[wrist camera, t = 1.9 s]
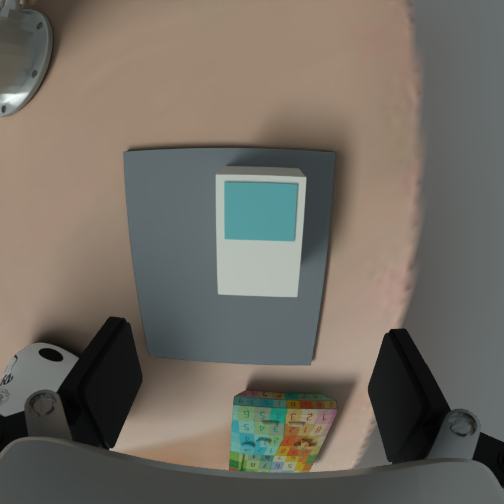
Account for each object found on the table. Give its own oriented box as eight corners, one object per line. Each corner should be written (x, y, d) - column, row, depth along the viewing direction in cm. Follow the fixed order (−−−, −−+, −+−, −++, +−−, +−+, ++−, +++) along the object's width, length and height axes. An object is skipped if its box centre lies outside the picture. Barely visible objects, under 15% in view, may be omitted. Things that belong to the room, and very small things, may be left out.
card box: (224, 166, 25) (215, 174, 20) (298, 168, 25) (306, 177, 20) (225, 267, 29) (217, 295, 24) (292, 269, 28) (297, 298, 24)
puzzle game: (338, 414, 31) (303, 487, 38) (333, 386, 35) (302, 464, 42) (232, 410, 31) (227, 484, 38) (235, 381, 35) (230, 461, 43)
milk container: (10, 325, 34) (-60, 403, 18) (105, 338, 34) (33, 456, 17) (52, 407, 41) (9, 483, 24) (140, 427, 40) (106, 525, 23)
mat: (126, 151, 25) (123, 151, 25) (334, 152, 25) (335, 152, 24) (150, 352, 34) (149, 355, 33) (310, 361, 33) (310, 365, 33)
